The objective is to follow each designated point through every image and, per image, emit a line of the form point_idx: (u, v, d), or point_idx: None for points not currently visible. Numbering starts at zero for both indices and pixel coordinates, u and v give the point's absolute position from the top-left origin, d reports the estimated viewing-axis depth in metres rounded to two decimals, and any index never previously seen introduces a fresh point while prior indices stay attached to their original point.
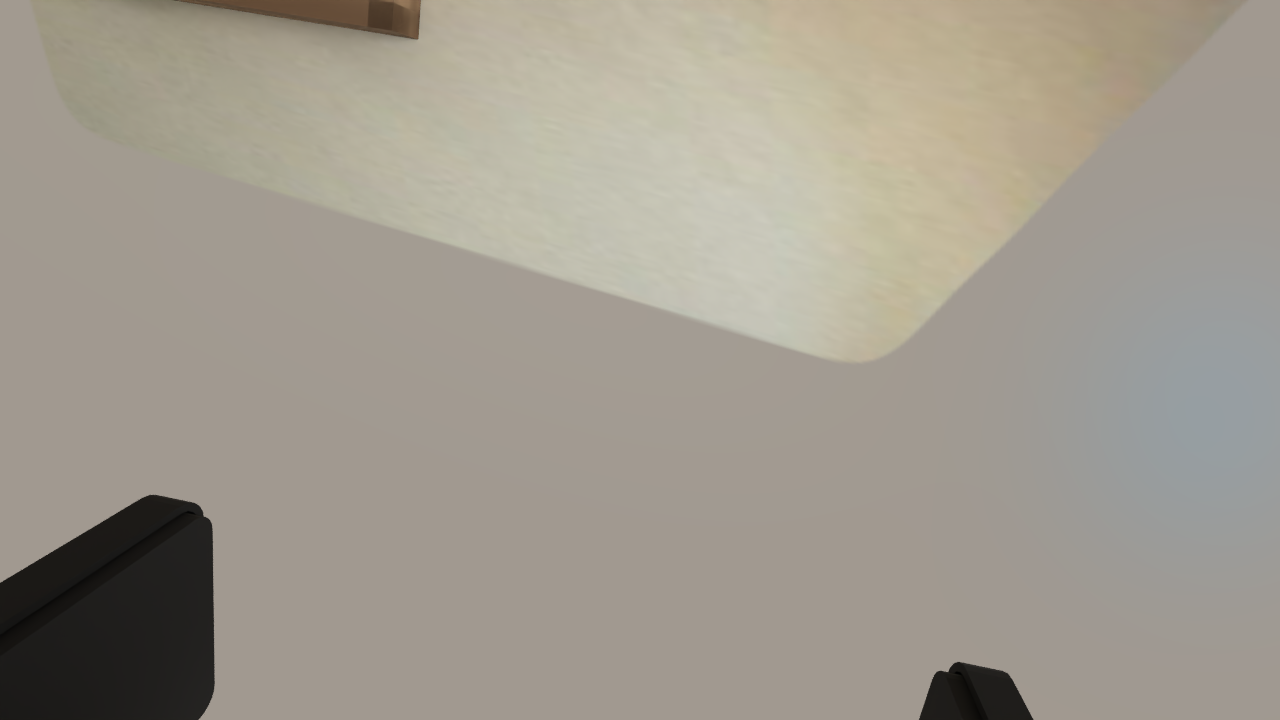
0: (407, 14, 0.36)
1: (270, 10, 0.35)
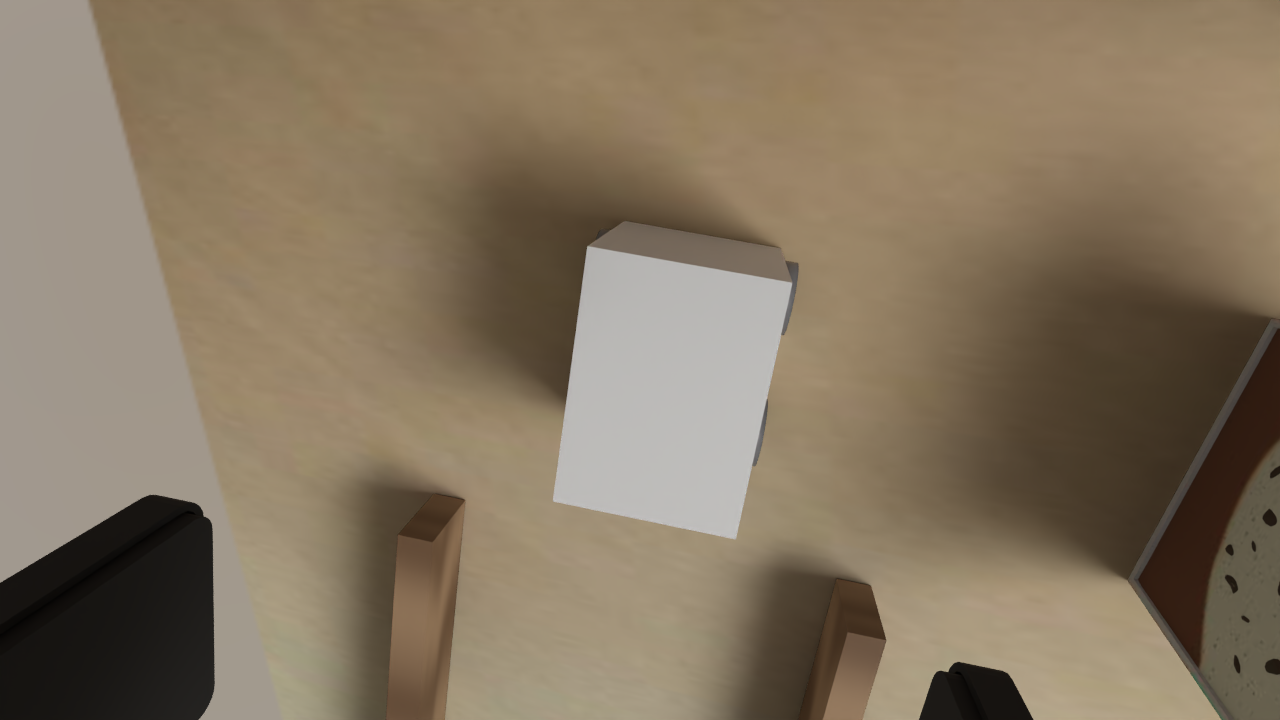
0: None
1: None
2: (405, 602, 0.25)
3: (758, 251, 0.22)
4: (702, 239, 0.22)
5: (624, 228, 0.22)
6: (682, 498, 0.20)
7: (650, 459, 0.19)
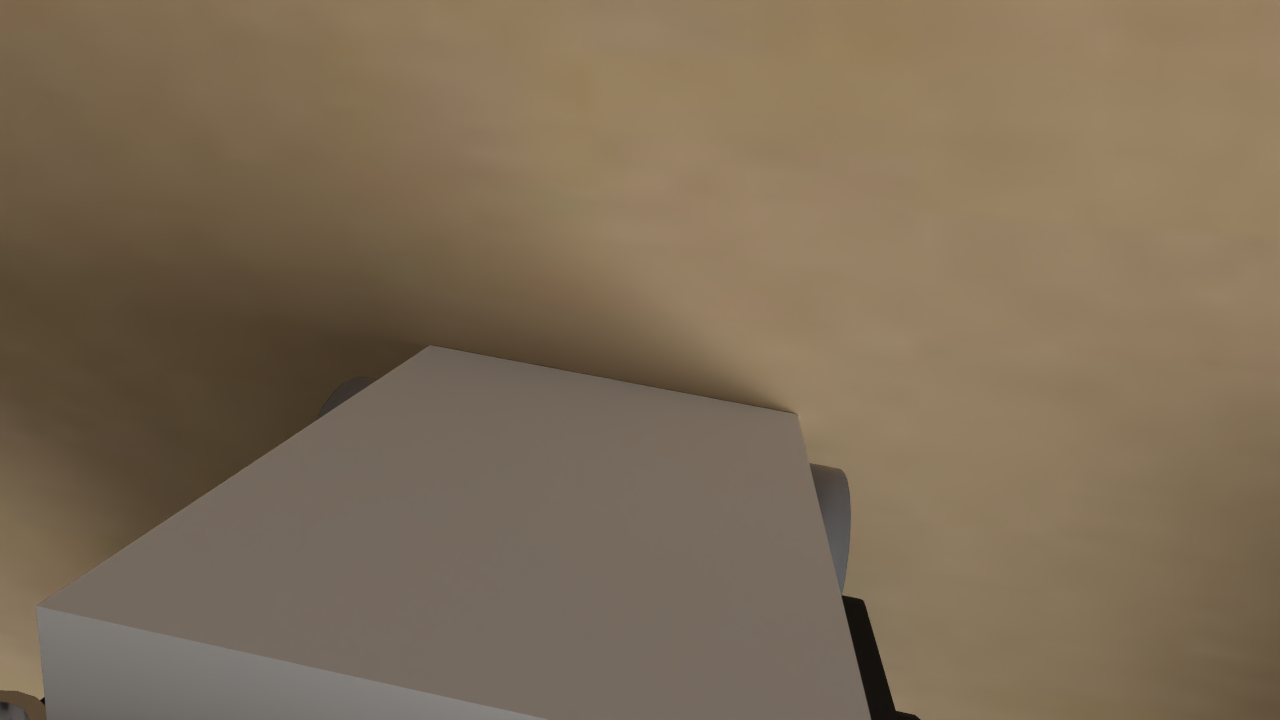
0: None
1: None
2: None
3: (743, 455, 0.08)
4: (600, 412, 0.09)
5: (391, 389, 0.08)
6: None
7: None
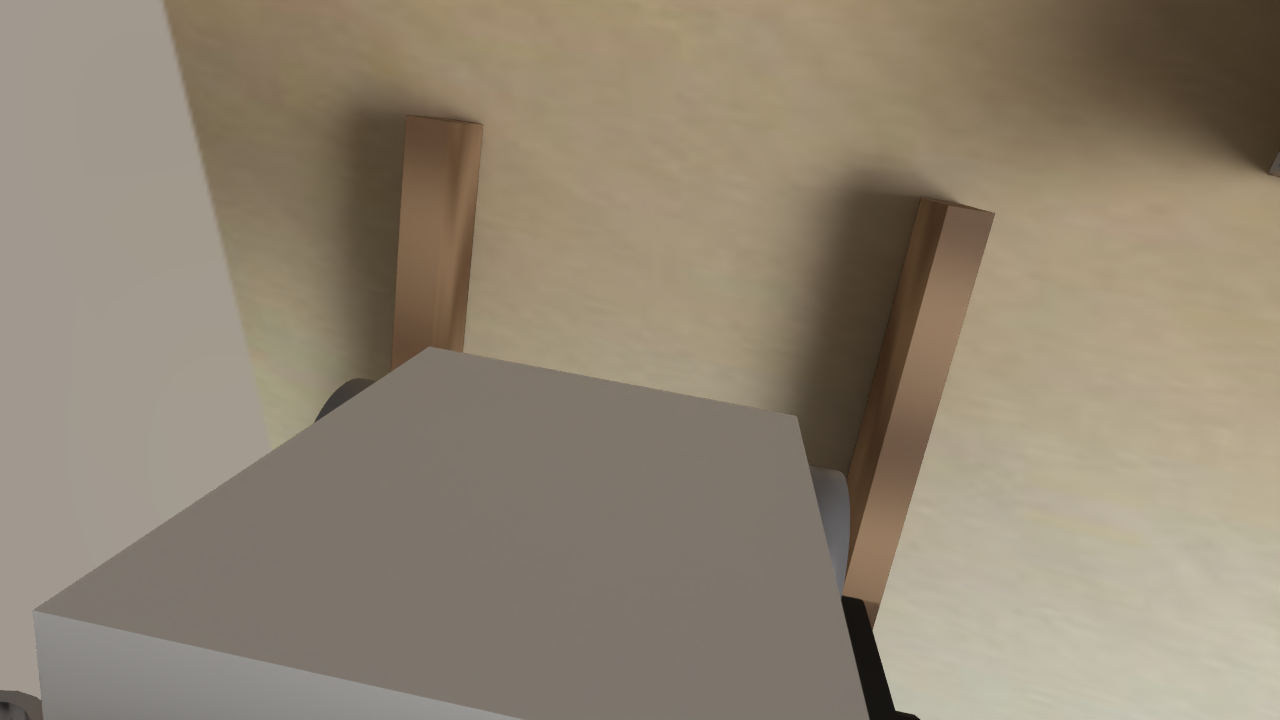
0: None
1: None
2: (414, 210, 0.21)
3: (742, 457, 0.08)
4: (599, 413, 0.09)
5: (390, 391, 0.08)
6: None
7: None
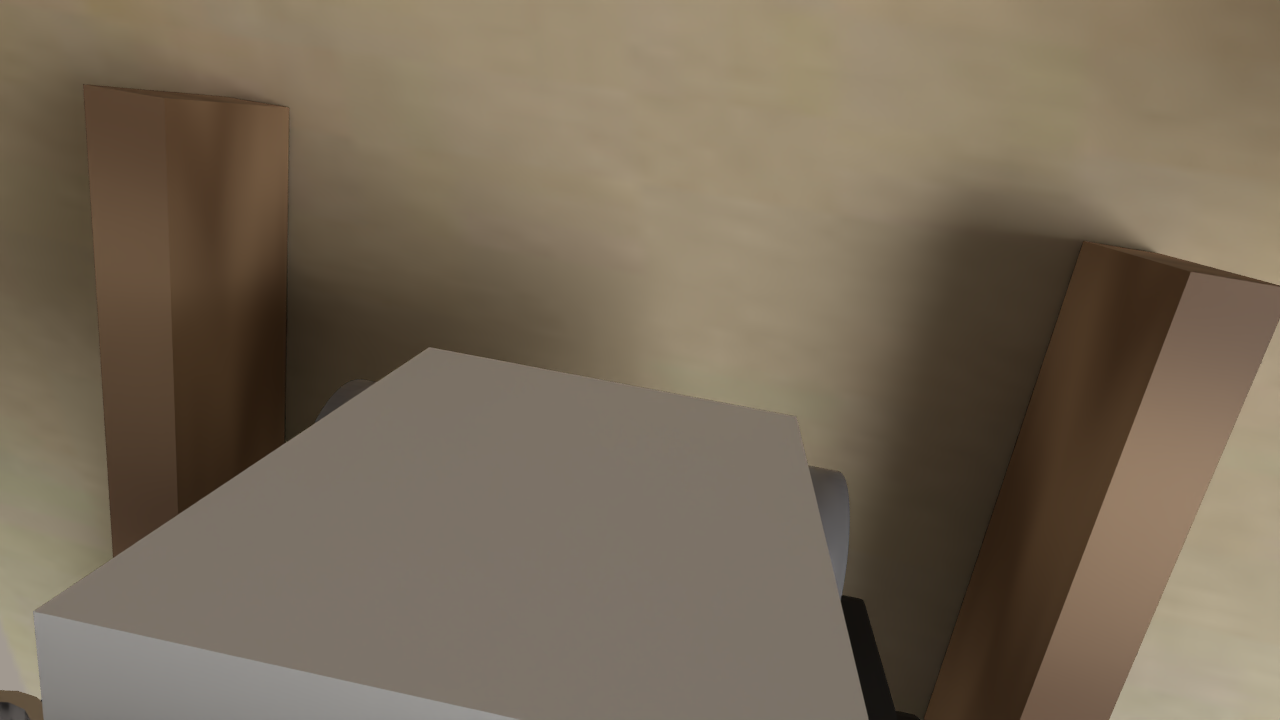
0: None
1: None
2: (121, 270, 0.11)
3: (742, 458, 0.08)
4: (599, 414, 0.09)
5: (390, 392, 0.08)
6: None
7: None
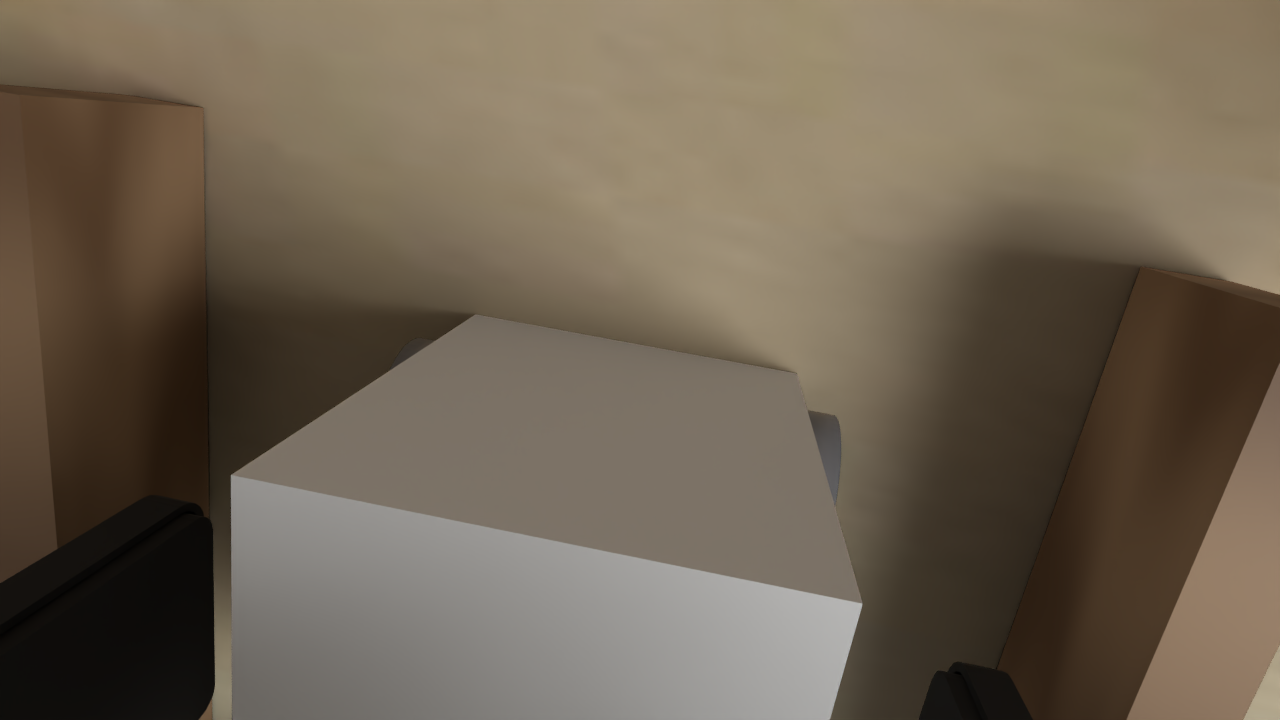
0: None
1: None
2: None
3: (750, 399, 0.10)
4: (628, 365, 0.10)
5: (453, 345, 0.10)
6: None
7: None
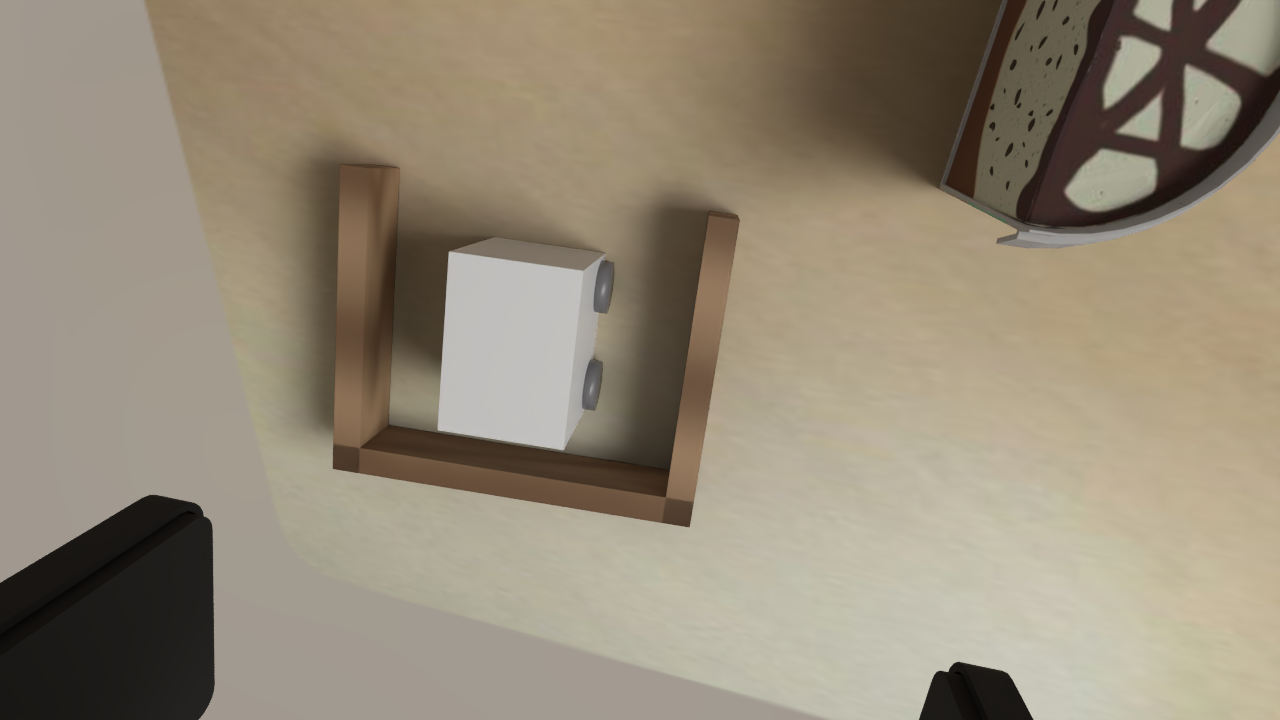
0: None
1: (553, 503, 0.33)
2: (348, 230, 0.30)
3: (583, 254, 0.31)
4: (545, 247, 0.32)
5: (489, 241, 0.31)
6: (525, 422, 0.29)
7: (501, 396, 0.28)
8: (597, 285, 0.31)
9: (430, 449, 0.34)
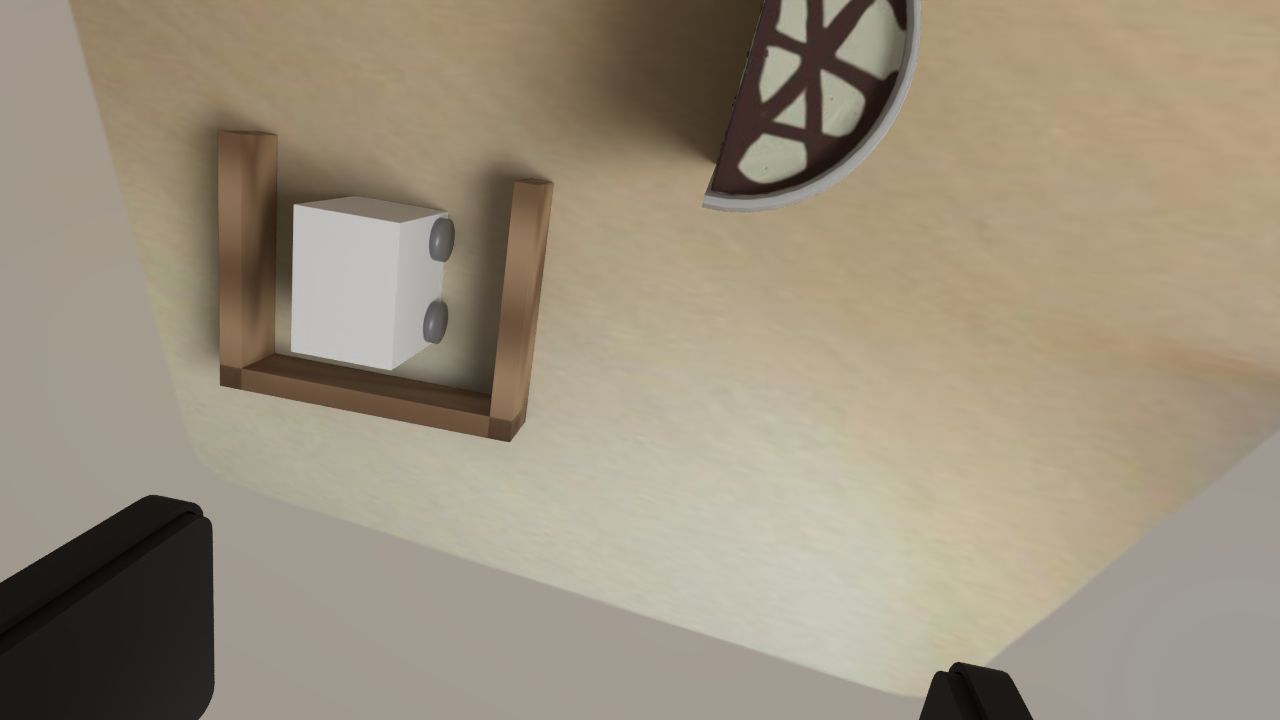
0: (519, 415, 0.40)
1: (399, 419, 0.39)
2: (226, 185, 0.37)
3: (421, 211, 0.37)
4: (393, 205, 0.38)
5: (345, 199, 0.38)
6: (360, 347, 0.35)
7: (340, 324, 0.35)
8: (431, 237, 0.37)
9: (302, 372, 0.40)
